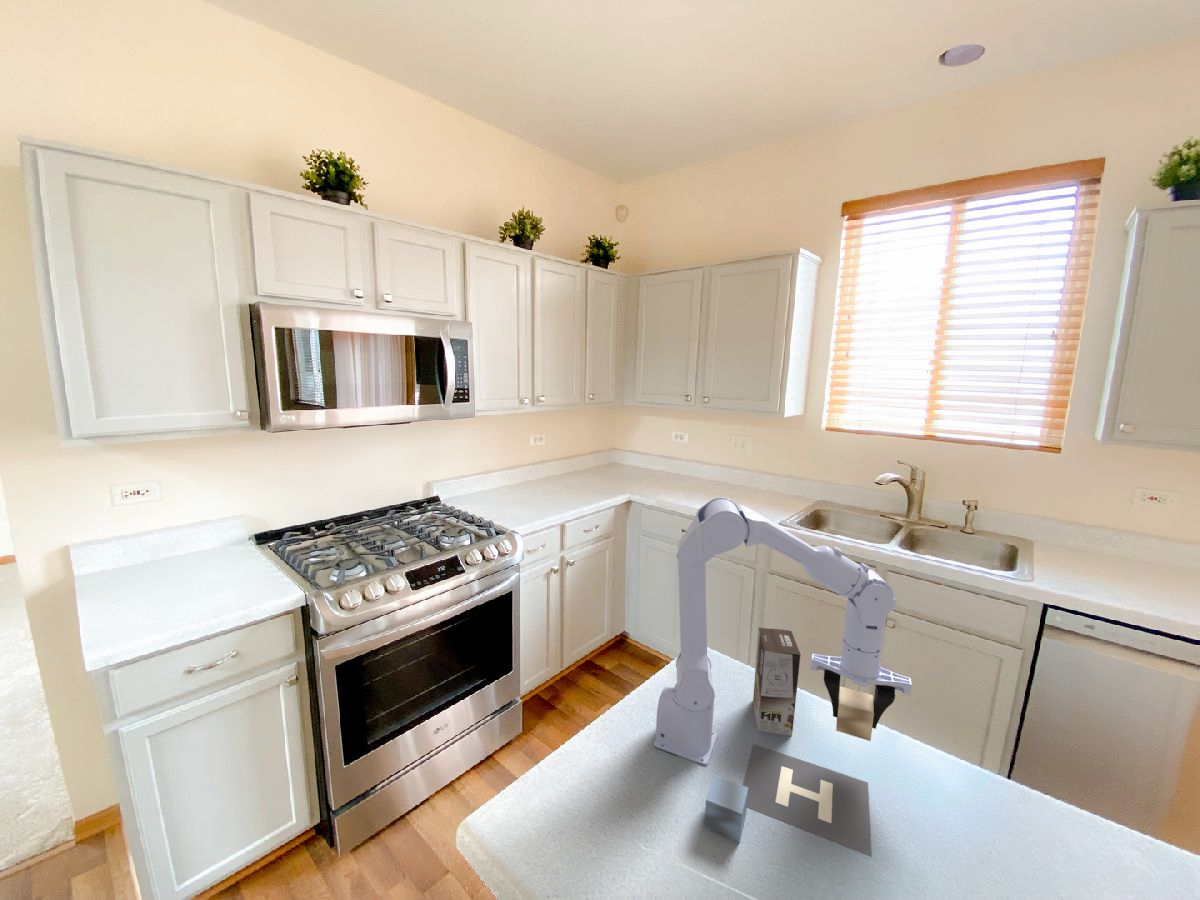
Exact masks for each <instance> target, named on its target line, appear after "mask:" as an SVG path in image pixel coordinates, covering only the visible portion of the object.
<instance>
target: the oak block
mask: <svg viewBox="0 0 1200 900" xmlns="http://www.w3.org/2000/svg"><path fill="white" fill-rule="evenodd" d="M873 703H874V694H870V693H867V692H863V691H858V690H856V689H851V688H848V687H844V686H841V685H840V689H839V697H838V716H837V717H836V730H835V731H837V732H839V733H843V734H845V735H848V736H849V735H850V736H853V737H856V738H859V739H863V740H865V741H870V742H871V740H872V735H873V734H872V732H873V728H872V726H873V717H874V705H873Z"/></svg>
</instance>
